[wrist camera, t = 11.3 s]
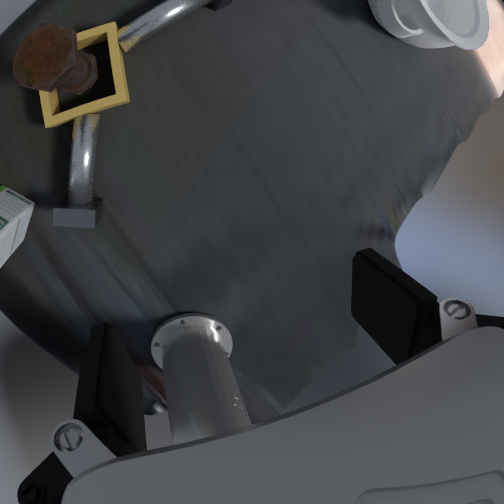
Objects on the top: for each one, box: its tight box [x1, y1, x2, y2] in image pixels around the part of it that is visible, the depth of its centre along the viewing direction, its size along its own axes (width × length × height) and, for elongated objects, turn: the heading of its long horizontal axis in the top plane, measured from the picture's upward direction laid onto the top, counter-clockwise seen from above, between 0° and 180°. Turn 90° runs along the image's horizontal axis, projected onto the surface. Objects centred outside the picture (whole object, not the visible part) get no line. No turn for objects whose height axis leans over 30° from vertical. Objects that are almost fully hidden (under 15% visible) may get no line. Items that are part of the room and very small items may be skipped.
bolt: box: [13, 23, 98, 95], centre depth 21 cm, size 6×5×15 cm
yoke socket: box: [39, 22, 130, 128], centre depth 26 cm, size 10×10×4 cm
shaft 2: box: [117, 0, 232, 53], centre depth 25 cm, size 14×5×5 cm, turn 124°
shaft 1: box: [53, 114, 103, 228], centre depth 30 cm, size 12×5×5 cm, turn 169°
